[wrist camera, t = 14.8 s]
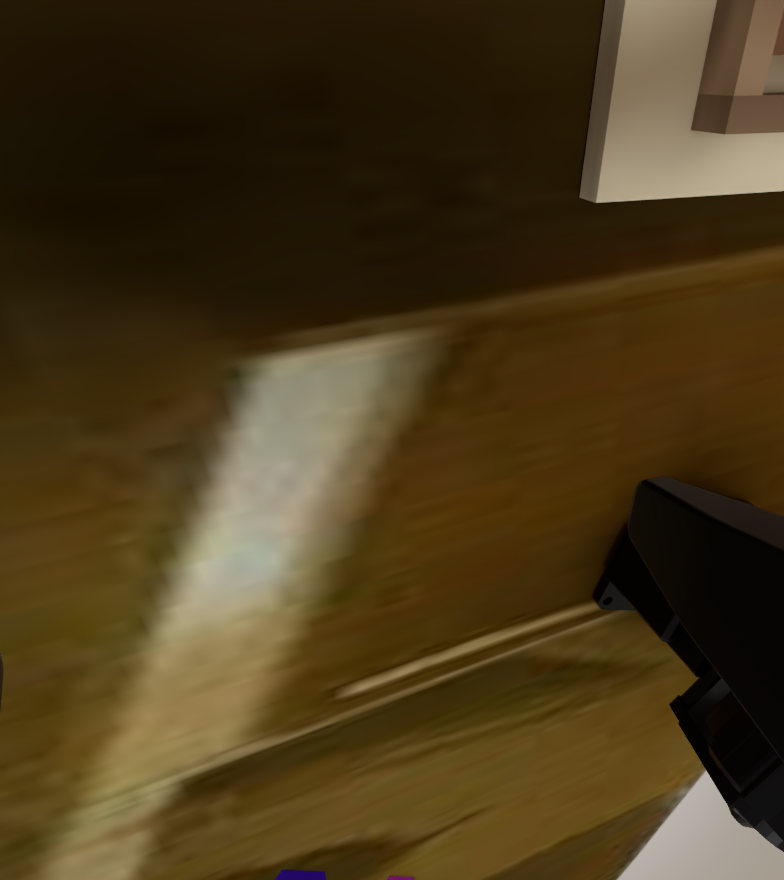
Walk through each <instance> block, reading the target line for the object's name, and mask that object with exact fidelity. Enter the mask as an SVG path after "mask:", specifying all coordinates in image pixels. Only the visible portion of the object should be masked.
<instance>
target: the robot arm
mask: <svg viewBox="0 0 784 880" xmlns="http://www.w3.org/2000/svg"><path fill="white" fill-rule="evenodd" d="M594 601H595V602H596V604H597V605H598V606H599V607H600V608H601V609H611V610H636V612H637V613H638V614H639V615H640V616H641V617H642V619H643V620H644V621H645V622H646V623H647V624H648V625H649V627H650V628H651V629H652V630H653V631H654V632H655V633H656V635H657V636H658V637H659V638H660V639H661V640H662V641H663V642H666V643H667V644H668V645H669V646H670V647H671V649H672V650H673V651H674V652H675V653H676V654H677V655H678V657H679V658H680V659H681V660H682V661H683V662H684V663H685V665H686V666H687V667H688V668H689V669H690V670H691V671H692V673H693V674H694V675H695V676H696V677H700V678H699V679H698V680H697V681H696V682H695V683H694V684H693V685H692V686H691V687H690V688H689V689H688V690H687V691H686V692H685V693H684V694H682V695H681V696H679V695H678V696H677V697H676V698H675V699H674V700H673V701H672V702H671V703H670V704H669V705H670V707H671V709H672V710H673V712H674V714H675V715H676V717H677V719H678V720H679V722H678V724H679V726H680V727H681V729H682V731H683V732H684V734H685V736H686V737H687V739H688V741H689V742H690V744H691V745H692V747H693V749H694V750H695V752H696V754H697V755H698V757H699V759H700V760H701V762H702V764H703V765H704V767H705V769H706V770H707V772H708V774H709V775H710V777H711V778H712V780H713V782H714V783H715V785H716V787H717V788H718V790H719V792H720V793H721V795H722V797H723V798H724V800H725V801H726V803H727V805H728V807H729V809H730V812H731V814H732V815H733V817H734V818H735V819H736V821H738V823H740V824H741V825H742V826H745V827H749V828H754V829H756V830H757V831H758V832H759V833H760V834H761V835H762V836H763V837H764V838H765V839H767V840H768V841H769V842H770V843H772V844H773V845H774V846H775V847H777V848H779V849H780V850H782V851H783V852H784V517H783V516H780V515H777V514H774V513H772V512H769V511H766V510H763V509H760V508H757V507H755V506H754V505H752V504H751V503H750V502H748V501H741V500H734V499H731V498H728V497H725V496H722V495H719V494H716V493H713V492H710V491H707V490H704V489H701V488H698V487H696V486H693V485H690V484H687V483H684V482H681V481H678V480H675V479H672V478H669V477H657V478H651V479H646V480H643V481H641V482H639V484H638V485H637V486H636V489H635V493H634V498H633V502H632V507H631V511H630V516H629V521H628V534H627V536H626V538H625V540H624V541H623V543H622V545H621V547H620V549H619V551H618V553H617V555H616V556H615V558H614V560H613V562H612V564H611V566H610V568H609V570H608V571H607V573H606V575H605V577H604V579H603V581H602V583H601V585H600V586H599V588H598V590H597V592H596V594H595V596H594ZM3 677H4V667H3V660H2V656H1V653H0V710H1V699H2V688H3Z"/></svg>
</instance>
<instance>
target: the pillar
mask: <svg viewBox="0 0 784 880" xmlns="http://www.w3.org/2000/svg"><path fill="white" fill-rule="evenodd" d="M772 55H784V10H783V14H782V18H781V22H780V26H779V30H778V34H777V38H776V42H775V46H774V50H773V54H772Z"/></svg>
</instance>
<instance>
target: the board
mask: <svg viewBox="0 0 784 880" xmlns="http://www.w3.org/2000/svg"><path fill="white" fill-rule="evenodd" d="M783 10H784V0H605V7H604V15H603V22H602V30H601V37H600V45H599V53H598V60H597V68H596V75H595V83H594V90H593V98H592V105H591V113H590V121H589V128H588V136H587V143H586V151H585V158H584V166H583V174H582V181H581V189H580V196H579V198H582V199H585V200H588V201H592V202H595V203H603V202H619V201H634V200H650V199H666V198H681V197H697V196H713V195H728V194H744V193H760V192H775V191H784V55H772V54H773V50H774V46H775V42H776V38H777V34H778V30H779V26H780V22H781V18H782V14H783Z"/></svg>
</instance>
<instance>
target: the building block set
mask: <svg viewBox="0 0 784 880" xmlns="http://www.w3.org/2000/svg"><path fill="white" fill-rule="evenodd" d="M275 880H326V877H325V872H319V871H295V870H282V871H281V873H280V874H279V875H278V877H277V878H276V879H275ZM387 880H414V879H413V877H399V876H389V878H388V879H387Z"/></svg>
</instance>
